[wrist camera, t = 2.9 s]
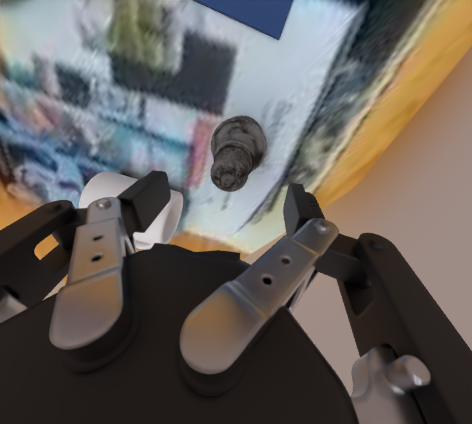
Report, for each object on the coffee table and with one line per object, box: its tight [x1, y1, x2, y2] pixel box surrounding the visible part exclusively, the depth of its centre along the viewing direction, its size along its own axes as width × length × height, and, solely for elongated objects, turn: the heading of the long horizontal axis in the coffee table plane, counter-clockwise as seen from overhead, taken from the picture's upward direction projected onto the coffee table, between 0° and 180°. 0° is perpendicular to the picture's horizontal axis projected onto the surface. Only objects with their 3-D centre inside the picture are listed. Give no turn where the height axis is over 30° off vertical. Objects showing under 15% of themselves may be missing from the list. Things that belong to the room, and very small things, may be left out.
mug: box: [79, 171, 183, 249], centre depth 26 cm, size 12×10×8 cm
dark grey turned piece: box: [211, 116, 267, 192], centre depth 17 cm, size 6×6×12 cm
